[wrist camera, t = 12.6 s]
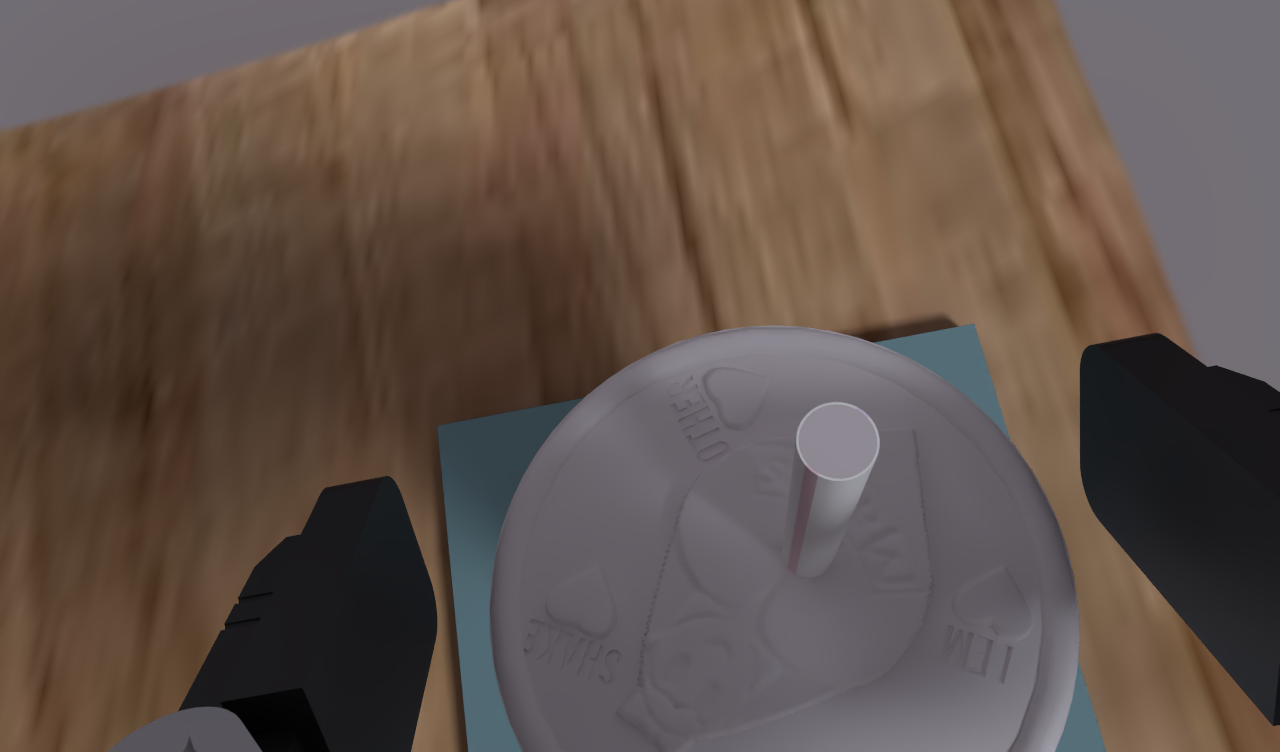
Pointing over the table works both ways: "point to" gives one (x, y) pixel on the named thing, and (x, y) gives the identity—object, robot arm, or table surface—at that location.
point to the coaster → (500, 455)
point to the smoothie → (782, 563)
